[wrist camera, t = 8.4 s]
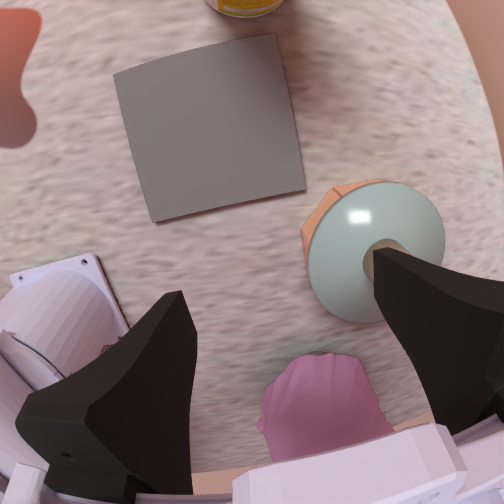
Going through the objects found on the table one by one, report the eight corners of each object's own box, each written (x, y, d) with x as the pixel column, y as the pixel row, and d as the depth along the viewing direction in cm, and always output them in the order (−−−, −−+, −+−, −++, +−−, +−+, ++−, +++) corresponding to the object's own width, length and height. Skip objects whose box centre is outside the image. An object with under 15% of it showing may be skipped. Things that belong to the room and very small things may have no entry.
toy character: (240, 340, 25) (254, 606, 7) (366, 315, 25) (475, 544, 6) (262, 423, 30) (280, 602, 12) (359, 404, 30) (413, 571, 12)
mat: (153, 220, 20) (152, 222, 20) (115, 75, 16) (113, 74, 16) (304, 187, 20) (305, 189, 20) (274, 34, 16) (275, 33, 16)
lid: (320, 332, 21) (337, 378, 17) (290, 204, 17) (307, 234, 13) (438, 291, 20) (469, 327, 16) (434, 166, 16) (479, 185, 12)
